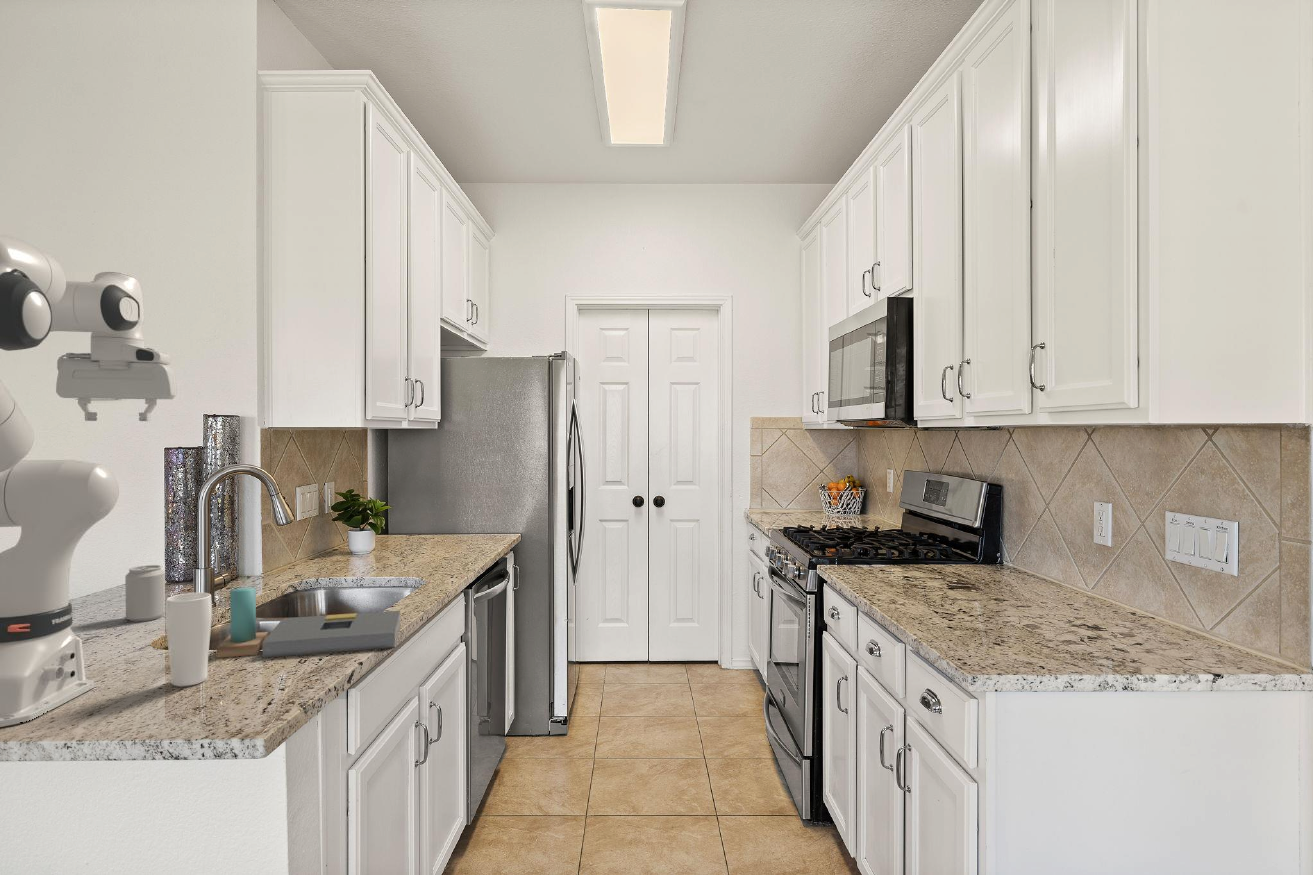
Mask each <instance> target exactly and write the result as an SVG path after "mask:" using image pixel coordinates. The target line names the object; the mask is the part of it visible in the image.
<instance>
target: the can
mask: <svg viewBox="0 0 1313 875" xmlns="http://www.w3.org/2000/svg"><path fill="white" fill-rule="evenodd" d="M128 571H129V572H128V573H126V575H125V578H124V580H125V618H126V619H128V620H129V621H130V622H136V623H137V622H140V623H141V622H148V621H154V620H159V619H160V618H162V616H163V615H164V614H165V612H166V572H165V571H164V570H163V569H162V565H160V564H151V565H149V564H147V565H139V566H134V567H131V568H129V569H128Z"/></svg>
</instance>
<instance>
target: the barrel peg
mask: <svg viewBox="0 0 1313 875" xmlns="http://www.w3.org/2000/svg"><path fill="white" fill-rule="evenodd" d="M256 592H257V588H256V587H252V586H249V587H248V586H245V587H238V588H233V589H231V590H230V592H229V596H230V597H229V599H230V600H229V602H230V627H229V628H230V634H231V642H234V643H241V642H248V641H251V640H254V639H256V633H257V617H256V616H257V614H256V613H257V611H256V609H257V608H256V606H257V605H256V604H257V597H256V596H257V595H256V594H257V593H256Z"/></svg>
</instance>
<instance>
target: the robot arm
mask: <svg viewBox="0 0 1313 875" xmlns="http://www.w3.org/2000/svg"><path fill="white" fill-rule="evenodd" d="M144 323H145V310H144V299H143V292H142V288H141V284H140V282H139V281H138V280H137V279H136V278H134V277H132V276H131V275H128V274H123V273H121V272H114V271H104V272H103V271H102V272H99V273H96V274H95V275H94V277H93V280H92V281H75V280H74V281H72V280H70V281H69V280H67V278H66V275H65V271H64V269H63V268H62V266H61V265H60V263H58V261H57V260H56V259H55V258H54V257H52V256H51V255H50V254H49V253H47V252H45V251H44V250H42V249H40V248H38V247H36V246H34V245H32V244H29V243H27V242H25V241H22V240H20V239H18V238H15V237H11V236H9V235H6V234H3V233H2V234H1V233H0V350H3V351H7V352H9V351H20V350H21V351H22V350H27V349H32V348H35V347H39V345H41V344H42V343H43V341H45V340H46V338H47V337H48V336H49V334H50V332H69V333H70V332H73V333H74V332H77V333H91V334H90V352H84V353H83V352H81V353H80V352H79V353H76V352H66V353H65V354H62V355H61V356H59V357H58V358H57V361H56V368H57V371H58V373H57V377H56V384H55V392H56V394H57V395H58V396H59V397H60V398H62V399H63V398H64V399H77V404H78V406H79V407H80V409H81V411H82V412H83V413H84V421H86V422H97V421H98V417H97V416H98V412H95V411H92V409H91V407H90V406H89V405H90V404H91V402H92V399H96V400H97V399H102V400H103V399H107V400H108V399H110V400H113V399H114V400H115V399H116V400H144V404H145V405H147V406H146V408H145V409H144V411H143V412H138V416H139V417H138V421H139V422H151V413H152V412H153V411H154V409H155V408H156V406H157V405H158V403H157V400H173V399H174V398H175V397H176V396H177V391H178V390H177V379H176V374H175V371H174V370H173V368H172V367H171V366H169V365H170V364H171V362H172V358H171V356H170V355H169V354H166V353H164V352H160V351H157V350H155V349H153V348H148V347H145V339H144V335H143V329H142V328H143V325H144ZM34 434H35V433H34V430H33V427H32V426H31V424H30V422H29V421H28V419H27V418H26V416H25V414H24V413H23V412H22V409H21V408H20V406H19V405H18V403H17V402H16V400H15V398H14V397H13V396H12V394H11V392H10V391H9V390H8V388H7V386H5V385H4V383H3V382H2V381H1V380H0V528H14V527H20V529H21V530H20V536H19V539H18V541H17V543H16V544H15V545H14V546H13V547H10V548H7V549H6V550H3V551H1V552H0V728H1V727H8V726H13V725H18V724H21V723H20V722H23V723H26V721H27V722H30V721H32V719H33V720H34V718H35V719H37V718H38V716H39V717H41V716H42V715H44V714H46V713H48V712H50V711H51V710H53V709H56V708H57V707H59V706H61V705H63V704H65V703H67V702H69V701H71V700H72V699H75V698H76V697H78V696H81V695H83V694H84V693H86V692H88V691H90V690H91V689H94V688H95V681H94V680H93V679H88V678H86V671H85V662H84V660H85V659H84V652H83V643H82V642H83V641H82V639H81V638H79V636H77V635H76V634H75V633H74V632H73V630H72V628H71V625H72V624H73V616H74V611H73V605H72V603H70V600H69V598H70V597H69V595H70V594H69V593H70V591H69V589H70V588H69V587H70V586H69V585H70V570H71V563H72V557H73V554H74V552H75V550H76V548H77V545H78V543H79V542H80V541H81V539H82V538H83V537H84V535H85V534H86V533H87V532H88V531H89V529H91V527H92V526H94V525H96V524H97V523H98V522H99V521H101V520H102V519H105V518H106V516H108V515H109V514H110V513H111V512H112V511H113V509H114V507H115V505H116V504H117V502H118V499H119V492H120V490H119V484H118V483H119V482H118V480H117V478H116V476H115V475H114V473H113V471H111V469H110V468H108V467H107V466H106V465H104V464H101V463H100V464H99V463H94V462H89V461H82V460H75V459H29V460H28V459H24V458H26V456H27V455H28V454H29V453H30V451H31V450H32V447H33V445H34V441H35V440H34V439H35V437H34V436H35V435H34ZM47 711H48V712H47ZM43 713H44V714H43ZM36 717H37V718H36ZM29 720H30V721H29Z"/></svg>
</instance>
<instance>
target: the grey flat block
mask: <svg viewBox="0 0 1313 875" xmlns="http://www.w3.org/2000/svg"><path fill="white" fill-rule="evenodd" d="M400 627H401V610H390V611H376V612H373V611H372V612H359V613H358V612H354V613H340V614H326V615H314V616H313V615H312V616H301V617H284V618H282V619H281V620H279V622H278V623H277V625H276V626H275V627H274V628H273V630H272V631H271V632H270V633H268V637H267V638H266V639H265V640H264V641H263V642H262V644H263V648H262V658H263V659H267V658H277V657H280V658H281V657H289V656H292V657H293V656H303V655H306V656H307V655H315V654H316V655H318V654H328V653H341V652H353V651H356V652H357V651H365V650H366V651H367V650H369V651H370V650H378V649H379V650H380V649H393V648H396V644H397V639H398V635H399V634H398V633H399V631H400Z"/></svg>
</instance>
